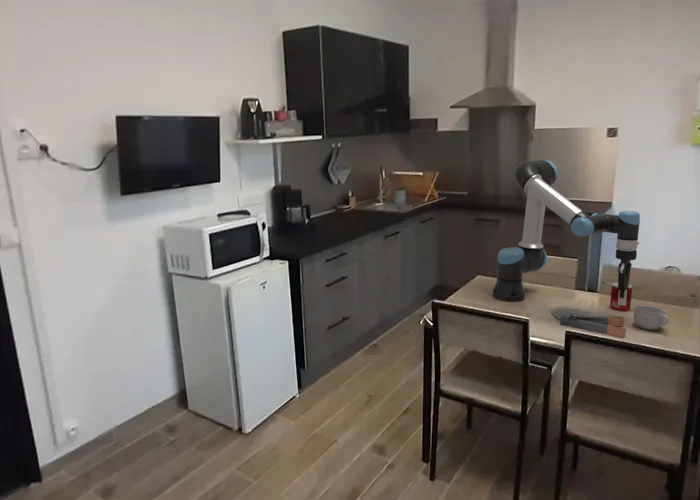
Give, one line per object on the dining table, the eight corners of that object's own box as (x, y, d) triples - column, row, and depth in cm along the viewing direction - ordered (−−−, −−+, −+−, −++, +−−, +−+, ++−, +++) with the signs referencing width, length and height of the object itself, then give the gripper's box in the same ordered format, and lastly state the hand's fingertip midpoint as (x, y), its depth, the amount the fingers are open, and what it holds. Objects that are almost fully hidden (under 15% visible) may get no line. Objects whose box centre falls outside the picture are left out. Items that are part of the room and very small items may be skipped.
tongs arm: (571, 325, 206) (572, 315, 205) (569, 322, 210) (569, 312, 209) (624, 327, 203) (625, 317, 202) (621, 324, 207) (622, 314, 206)
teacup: (626, 323, 209) (628, 304, 207) (651, 321, 209) (653, 303, 208) (649, 335, 195) (651, 316, 193) (675, 334, 196) (678, 315, 194)
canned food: (632, 311, 221) (635, 287, 219) (612, 310, 223) (615, 286, 221) (626, 306, 229) (629, 282, 226) (607, 305, 230) (609, 282, 228)
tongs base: (560, 324, 208) (560, 315, 207) (564, 320, 212) (565, 312, 211) (623, 337, 193) (624, 328, 193) (626, 333, 198) (627, 324, 197)
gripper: (633, 253, 199) (628, 310, 204) (640, 247, 209) (635, 302, 214) (612, 251, 204) (607, 307, 208) (620, 245, 213) (615, 299, 218)
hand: (621, 304), depth 211 cm, fingers closed
